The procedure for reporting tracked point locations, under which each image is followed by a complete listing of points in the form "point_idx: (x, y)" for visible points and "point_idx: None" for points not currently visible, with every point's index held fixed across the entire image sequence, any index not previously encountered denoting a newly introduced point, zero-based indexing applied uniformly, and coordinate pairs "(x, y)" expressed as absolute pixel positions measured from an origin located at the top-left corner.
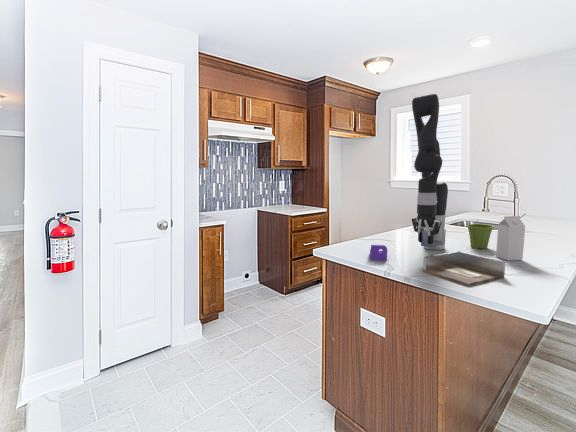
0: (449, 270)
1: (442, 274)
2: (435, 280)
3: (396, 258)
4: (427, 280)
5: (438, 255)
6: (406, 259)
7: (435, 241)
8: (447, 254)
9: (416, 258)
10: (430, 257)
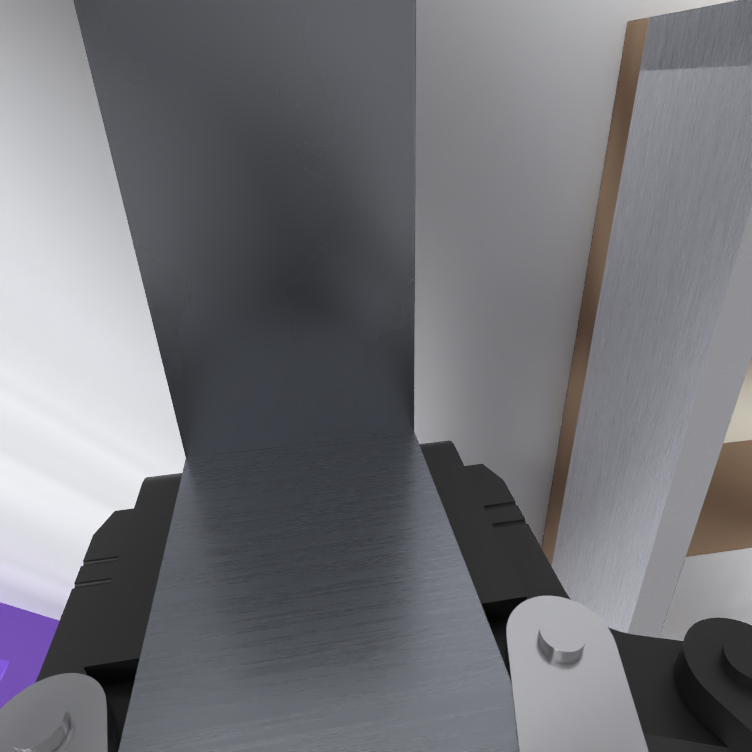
0: (731, 425)
1: (725, 536)
2: (705, 597)
3: (8, 506)
4: (669, 634)
5: (690, 537)
6: (93, 434)
7: (285, 148)
8: (737, 376)
9: (79, 281)
10: (653, 632)
